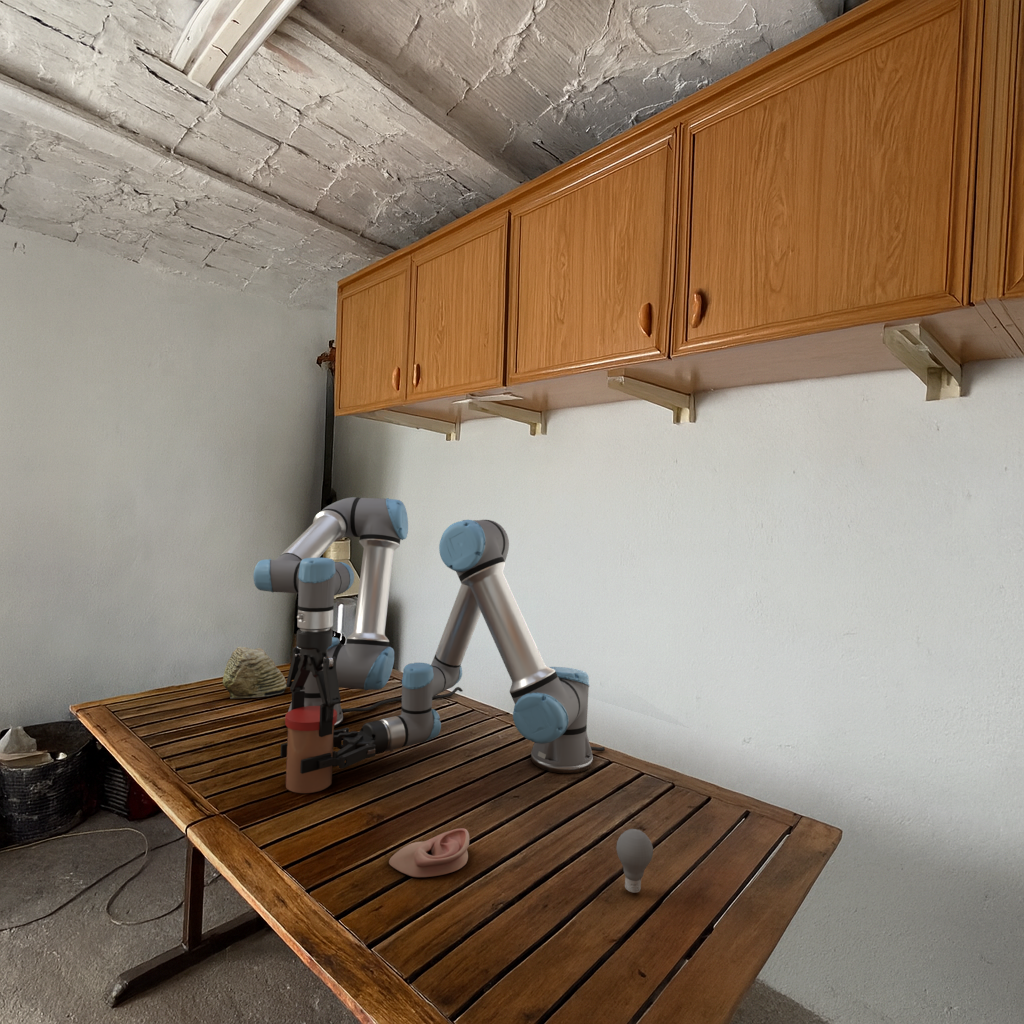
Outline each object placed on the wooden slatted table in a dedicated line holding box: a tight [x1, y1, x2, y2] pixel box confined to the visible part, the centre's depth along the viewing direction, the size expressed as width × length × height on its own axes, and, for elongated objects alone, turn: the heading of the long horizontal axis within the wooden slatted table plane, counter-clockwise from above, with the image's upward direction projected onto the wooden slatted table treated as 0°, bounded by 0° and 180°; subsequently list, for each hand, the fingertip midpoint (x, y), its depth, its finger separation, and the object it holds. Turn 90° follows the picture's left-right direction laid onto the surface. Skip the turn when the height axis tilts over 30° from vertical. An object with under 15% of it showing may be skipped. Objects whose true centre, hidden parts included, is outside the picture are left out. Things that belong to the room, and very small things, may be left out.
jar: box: [285, 725, 335, 794], centre depth 140 cm, size 10×10×15 cm
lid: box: [284, 706, 337, 731], centre depth 140 cm, size 11×11×2 cm
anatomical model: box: [388, 827, 470, 878], centre depth 112 cm, size 13×4×12 cm
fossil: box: [222, 646, 288, 699], centre depth 198 cm, size 9×18×15 cm, turn 132°
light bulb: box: [615, 828, 654, 894], centre depth 106 cm, size 6×6×10 cm
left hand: (311, 727), depth 140 cm, fingers closed on lid, 11 cm apart
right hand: (291, 758), depth 137 cm, fingers closed on jar, 10 cm apart
